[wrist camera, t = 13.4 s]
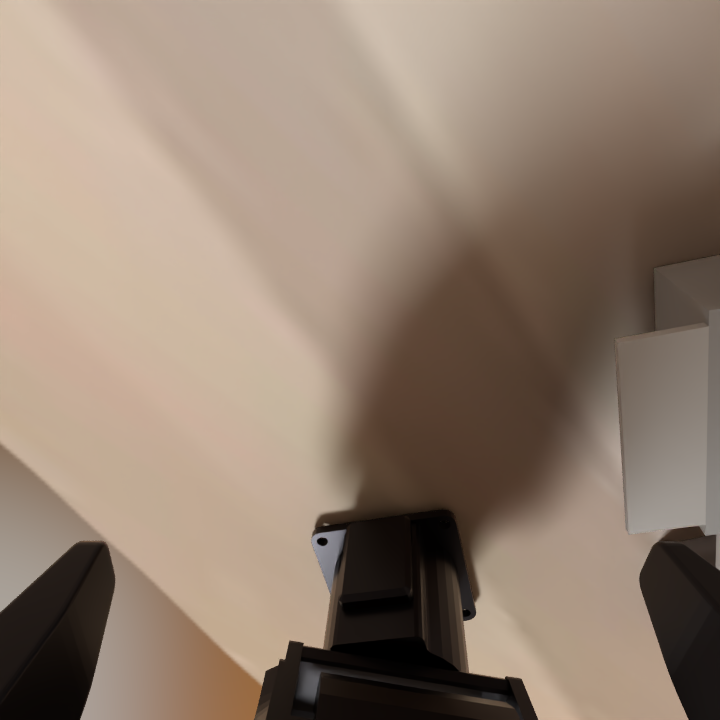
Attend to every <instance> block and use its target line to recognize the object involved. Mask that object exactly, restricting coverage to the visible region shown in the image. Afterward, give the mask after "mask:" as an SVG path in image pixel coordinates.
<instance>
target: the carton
mask: <svg viewBox="0 0 720 720" xmlns="http://www.w3.org/2000/svg"><path fill="white" fill-rule="evenodd" d="M654 295H655V331H654V332H649V333H643V334H638V335H633V336H627V337H622V338H616V339H614V341H615V357H616V374H617V390H618V407H619V424H620V440H621V457H622V473H623V490H624V507H625V523H626V530H627V532H628V534H629V535H630V534H638V533H646V532H653V531H661V530H669V529H677V528H684V527H692V526H699V527H700V528H701V530H702V531H703V533H704V534H705V536H707V535H715V534H716V568H717V569H719V570H720V255H716V256H711V257H706V258H701V259H696V260H691V261H686V262H681V263H676V264H671V265H666V266H661V267H656V268H654Z"/></svg>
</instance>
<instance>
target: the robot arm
mask: <svg viewBox="0 0 720 720" xmlns="http://www.w3.org/2000/svg"><path fill="white" fill-rule="evenodd" d="M442 520H447V521H448V522H446V523H442V522H440V521H442ZM320 537H324V538H326V539H320ZM311 541H312V545H313V548H314V551H315V554H316V556H317V559H318V562H319V564H320V567H321V570H322V573H323V575H324V578H325V581H326V583H327V586H328V589H329V592H330V594H331V596H330V604H329V611H328V618H327V625H326V632H325V639H324V647H323V649H321V648H315V647H309V646H303V644H304V643H301V642H295V641H289V645H288V650H287V654H286V659H285V660H283V659H280V661H279V665H278V666H276V667H274V668H271V669H269V670H267V671H266V673H265V677H264V682H263V686H262V690H261V695H260V699H259V704H258V707H257V711H256V715H255V719H254V720H538V718H537V716H536V713H535V711H534V708H533V706H532V703H531V701H530V698H529V696H528V694H527V691H526V689H525V686H524V684H523V681H522V679H520V678H514V677H508V676H506V677H505V679H503V678H497V677H491V676H485V675H479V674H473V673H469V669H468V660H467V650H466V641H465V632H464V623H463V621H467V620H471V619H472V618H474V617H475V615H476V608H475V602H474V598H473V593H472V589H471V584H470V580H469V575H468V571H467V566H466V562H465V557H464V553H463V548H462V544H461V539H460V535H459V530H458V526H457V521H456V517H455V515H454V513H453V512H451V511H450V510H445V509H442V510H435V511H428V512H421V513H414V514H407V515H400V516H393V517H386V518H379V519H372V520H365V521H358V522H351V523H344V524H337V525H330V526H323V527H319V528H316V529H315V530H314V531H313V534H312V539H311ZM639 579H640V587H641V591H642V594H643V597H644V600H645V603H646V606H647V609H648V612H649V615H650V618H651V621H652V624H653V627H654V630H655V633H656V636H657V639H658V642H659V645H660V648H661V651H662V655H663V658H664V661H665V664H666V666H667V669H668V672H669V675H670V677H671V680H672V682H673V685H674V687H675V689H676V692H677V694H678V696H679V699H680V701H681V703H682V706H683V708H684V710H685V712H686V715H687V717H688V719H689V720H720V570H719V569H717V568H716V567H715V566H713V565H712V564H711V563H709V562H708V561H707V560H705V559H704V558H703V557H701V556H700V555H699V554H697V553H696V552H694V551H693V550H692V549H690V548H689V547H688V546H686V545H685V544H683V543H680V542H657V543H655V544H654V545H653V547H652V548H651V551H650V553H649V555H648V557H647V559H646V561H645V564H644V566H643V568H642V570H641V573H640V578H639ZM114 588H115V574H114V569H113V565H112V560H111V556H110V552H109V548H108V545H107V544H106V542H104V541H80V542H78V543H76V544H74V545H73V546H72V547H71V548H70V549H69V550H68V551H67V552H66V553H65V554H63V555H62V556H61V557H60V558H59V559H58V560H57V561H56V562H55V563H54V564H53V565H51V566H50V567H49V568H48V569H47V570H46V571H45V572H44V573H43V574H42V575H41V576H40V577H38V578H37V579H36V580H35V581H34V582H33V583H32V584H31V585H30V586H29V587H27V588H26V589H25V590H24V591H23V592H22V593H21V594H20V595H19V596H18V597H17V598H16V599H14V600H13V601H12V602H11V603H10V604H9V605H8V606H7V607H6V608H5V609H4V610H2V611H1V612H0V720H80V718H81V716H82V713H83V710H84V707H85V704H86V701H87V698H88V695H89V692H90V688H91V685H92V681H93V677H94V673H95V669H96V665H97V661H98V656H99V652H100V648H101V643H102V640H103V635H104V631H105V627H106V622H107V618H108V614H109V610H110V606H111V601H112V597H113V593H114ZM464 609H467V610H464Z"/></svg>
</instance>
